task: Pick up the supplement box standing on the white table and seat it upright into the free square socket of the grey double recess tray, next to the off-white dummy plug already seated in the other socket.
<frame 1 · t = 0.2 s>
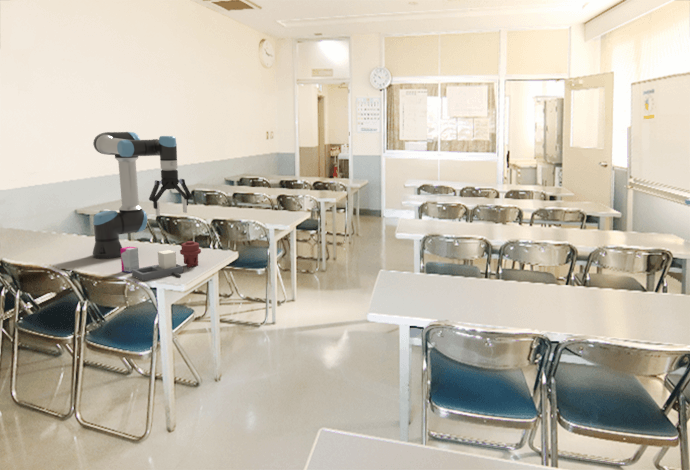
hand: (171, 214, 253), 27 cm above the table, fingers open, 13 cm apart
mechanical component: (191, 266, 266), on the table
supplement box: (130, 271, 255), on the table
grey double recess tray: (158, 274, 250), on the table
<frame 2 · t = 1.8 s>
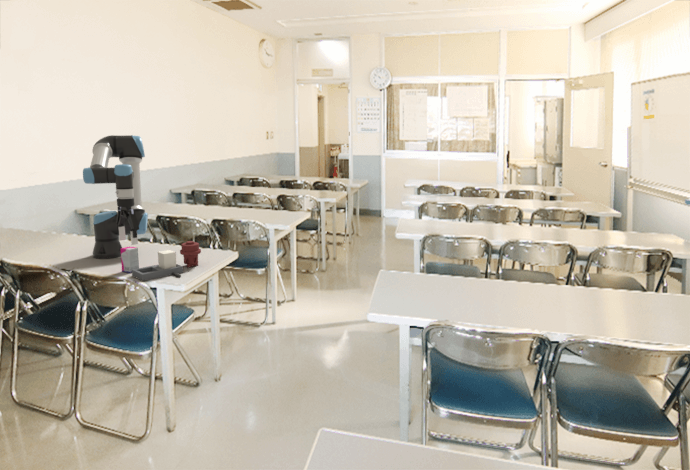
hand: (128, 242, 252), 14 cm above the table, fingers open, 13 cm apart
nothing on the table moved.
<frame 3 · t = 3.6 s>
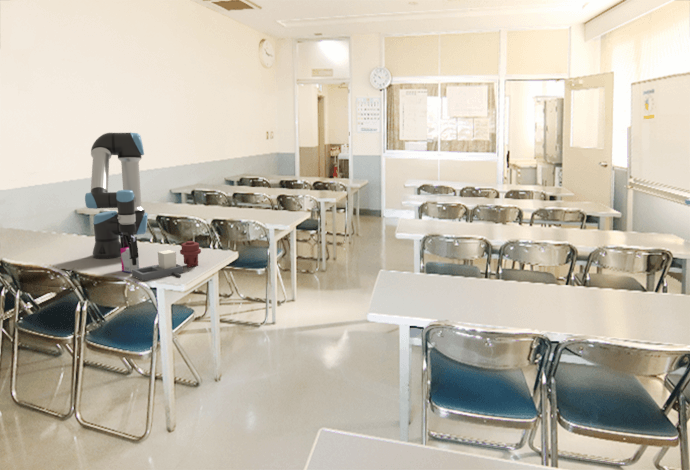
hand: (130, 269, 255), 1 cm above the table, fingers closed on supplement box, 7 cm apart
supplement box: (130, 271, 255), on the table, touching gripper
everything else where it was.
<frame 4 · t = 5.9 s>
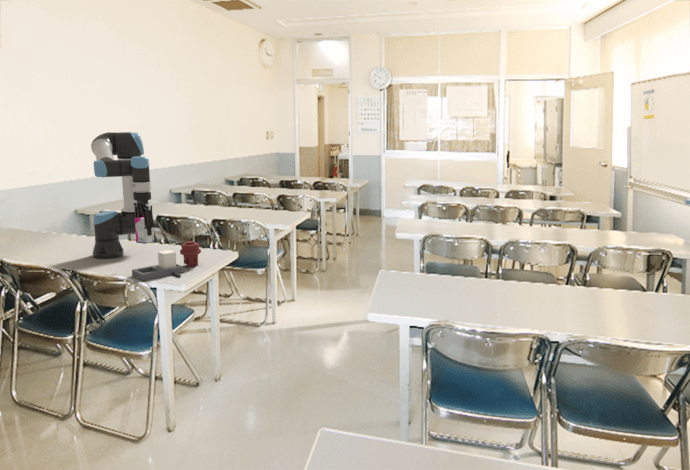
hand: (145, 240, 243), 17 cm above the table, fingers closed on supplement box, 7 cm apart
supplement box: (145, 242, 243), point 16 cm above the table, touching gripper
everything else where it was.
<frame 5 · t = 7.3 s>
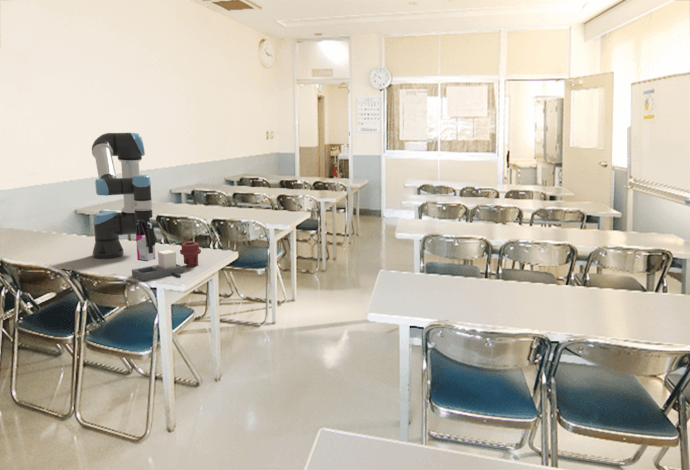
hand: (146, 258, 245), 9 cm above the table, fingers closed on supplement box, 7 cm apart
supplement box: (146, 259, 245), point 8 cm above the table, touching gripper
everything else where it was.
when the fingers open (5 cm above the table, at t = 8.5 s): supplement box drops 3 cm, resting on grey double recess tray.
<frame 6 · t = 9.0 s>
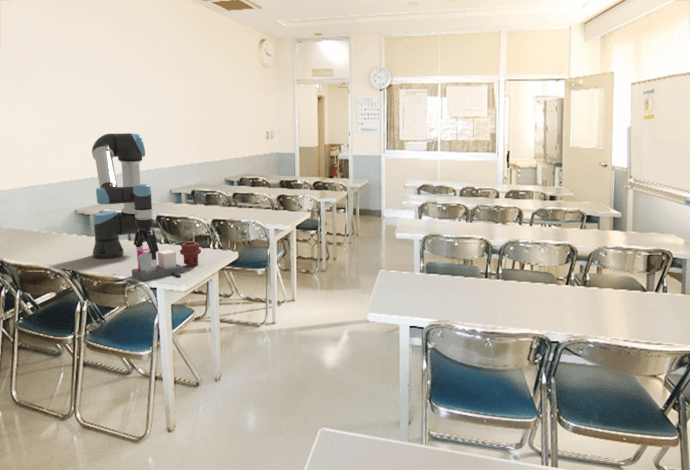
hand: (146, 263, 246), 6 cm above the table, fingers open, 13 cm apart
supplement box: (147, 274, 247), point 1 cm above the table, touching grey double recess tray
everything else where it was.
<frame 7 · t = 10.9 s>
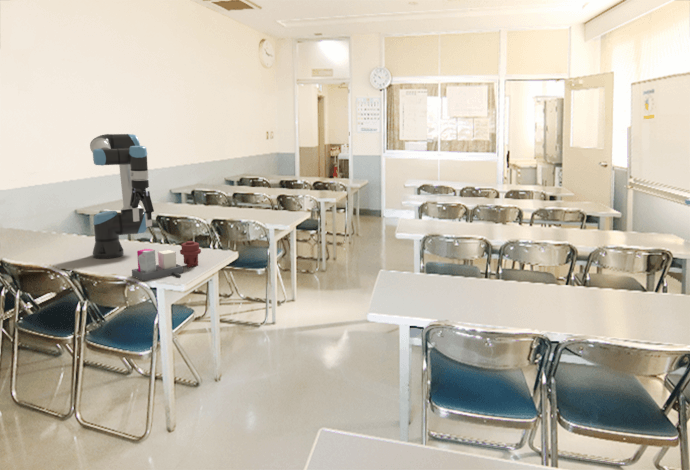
hand: (142, 223, 252), 23 cm above the table, fingers open, 13 cm apart
nothing on the table moved.
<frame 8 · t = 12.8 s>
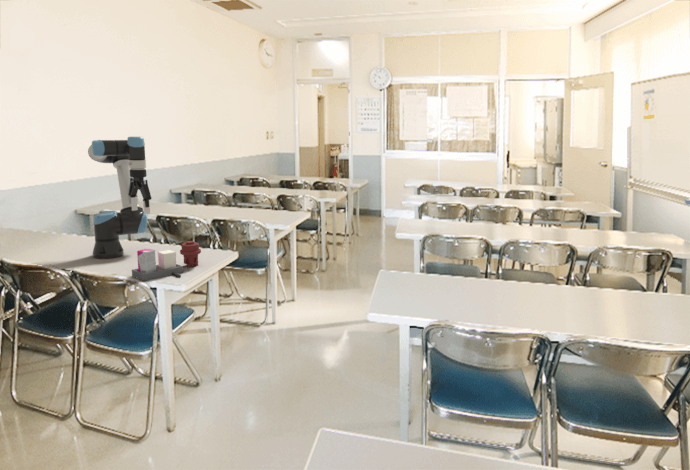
hand: (140, 212, 261), 27 cm above the table, fingers open, 13 cm apart
nothing on the table moved.
at the end: supplement box 0.1 cm from the target spot on the grey double recess tray, point 0.8 cm above the grey double recess tray's base; supplement box tilted 0°; the gripper is holding nothing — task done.
